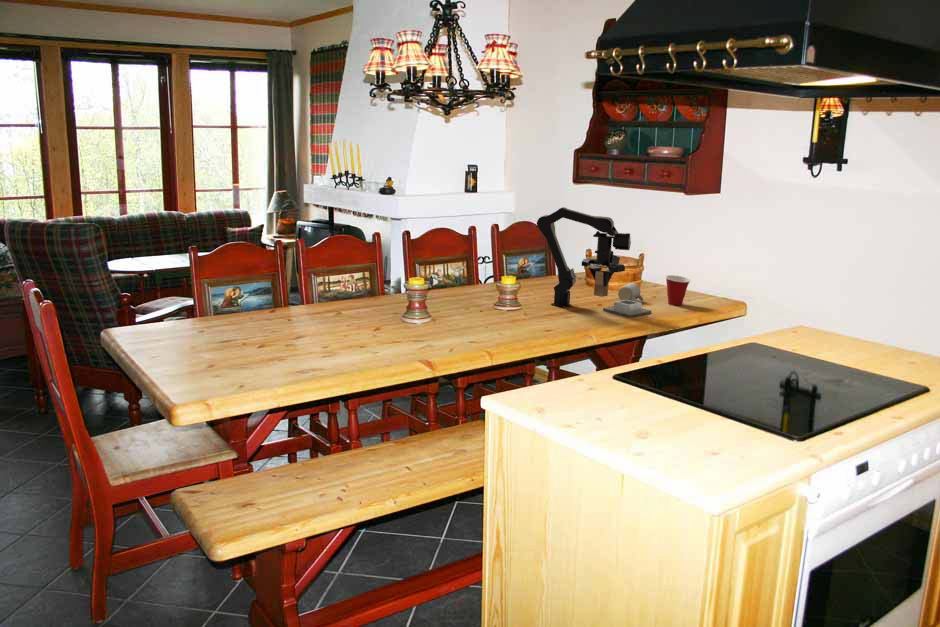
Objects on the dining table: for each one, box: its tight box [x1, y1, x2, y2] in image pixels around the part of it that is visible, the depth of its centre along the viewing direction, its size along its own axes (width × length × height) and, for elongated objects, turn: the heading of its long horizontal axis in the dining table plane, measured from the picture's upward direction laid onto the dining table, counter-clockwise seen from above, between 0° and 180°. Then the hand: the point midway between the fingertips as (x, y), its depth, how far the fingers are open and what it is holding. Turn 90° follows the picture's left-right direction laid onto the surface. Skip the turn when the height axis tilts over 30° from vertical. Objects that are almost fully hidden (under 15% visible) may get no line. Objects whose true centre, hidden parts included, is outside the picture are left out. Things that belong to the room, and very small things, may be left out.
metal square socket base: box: [602, 299, 652, 318], centre depth 318 cm, size 14×14×4 cm
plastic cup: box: [665, 275, 692, 307], centre depth 334 cm, size 11×11×12 cm
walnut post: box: [593, 270, 609, 298], centre depth 318 cm, size 4×4×10 cm
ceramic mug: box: [617, 282, 644, 304], centre depth 337 cm, size 11×8×8 cm
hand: (601, 285), depth 318 cm, fingers closed on walnut post, 4 cm apart
